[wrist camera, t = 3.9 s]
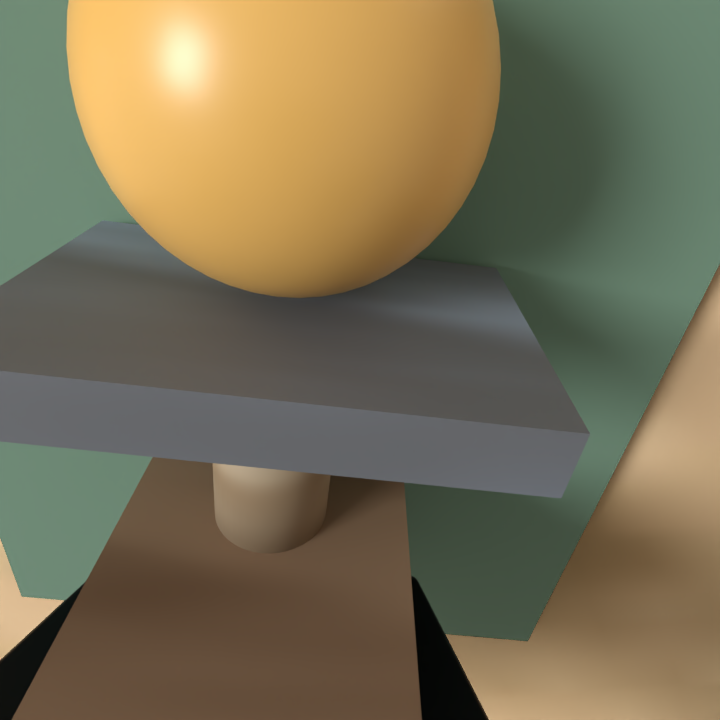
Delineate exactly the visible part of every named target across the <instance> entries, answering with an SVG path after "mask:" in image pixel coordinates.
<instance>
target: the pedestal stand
mask: <svg viewBox="0 0 720 720" xmlns="http://www.w3.org/2000/svg"><path fill="white" fill-rule="evenodd" d="M589 436H590V432H589V431H588V429H587V427H586V425H585V424H584V422H583V420H582V418H581V417H580V415H579V413H578V411H577V410H576V408H575V406H574V404H573V403H572V401H571V399H570V397H569V395H568V394H567V392H566V390H565V388H564V387H563V385H562V383H561V381H560V380H559V378H558V376H557V374H556V373H555V371H554V369H553V367H552V365H551V364H550V362H549V360H548V358H547V357H546V355H545V353H544V351H543V350H542V348H541V346H540V344H539V343H538V341H537V339H536V337H535V335H534V334H533V332H532V330H531V328H530V327H529V325H528V323H527V321H526V320H525V318H524V316H523V314H522V313H521V311H520V309H519V307H518V305H517V304H516V302H515V300H514V298H513V297H512V295H511V293H510V291H509V290H508V288H507V286H506V284H505V283H504V281H503V279H502V277H501V275H500V274H499V272H498V270H497V268H492V267H484V266H475V265H467V264H459V263H451V262H442V261H434V260H426V259H417V258H413V259H412V260H410V261H409V262H408V263H406V264H405V265H403V266H402V267H400V268H398V269H397V270H395V271H394V272H392V273H390V274H389V275H387V276H385V277H383V278H381V279H379V280H377V281H374V282H372V283H370V284H368V285H366V286H363V287H360V288H356V289H353V290H350V291H347V292H344V293H339V294H333V295H328V296H323V297H308V298H289V297H275V296H269V295H264V294H258V293H253V292H249V291H246V290H243V289H239V288H236V287H233V286H229V285H227V284H224V283H222V282H220V281H217V280H215V279H213V278H210V277H208V276H206V275H204V274H203V273H201V272H199V271H197V270H195V269H194V268H192V267H190V266H188V265H187V264H185V263H184V262H182V261H181V260H180V259H178V258H177V257H175V256H174V255H173V254H171V253H170V252H168V251H167V250H166V249H164V248H163V247H162V246H161V245H160V244H159V243H158V242H157V241H155V240H154V239H153V238H152V237H151V236H150V235H149V234H148V233H147V232H146V231H145V230H144V229H143V228H142V227H141V226H140V225H136V224H128V223H120V222H112V221H101V222H99V223H98V224H96V225H95V226H93V227H92V228H90V229H88V230H87V231H85V232H84V233H82V234H81V235H79V236H78V237H76V238H74V239H73V240H71V241H70V242H68V243H67V244H65V245H63V246H62V247H60V248H59V249H57V250H56V251H54V252H52V253H51V254H49V255H48V256H46V257H45V258H43V259H41V260H40V261H38V262H37V263H35V264H34V265H32V266H31V267H29V268H27V269H26V270H24V271H23V272H21V273H20V274H18V275H16V276H15V277H13V278H12V279H10V280H9V281H7V282H5V283H4V284H2V285H1V286H0V442H9V443H19V444H29V445H39V446H49V447H58V448H68V449H78V450H88V451H98V452H108V453H118V454H127V455H137V456H147V457H152V459H151V461H150V463H149V465H148V467H147V468H146V470H145V472H144V474H143V476H142V478H141V480H140V482H139V483H138V485H137V487H136V489H135V491H134V493H133V495H132V496H131V498H130V500H129V502H128V504H127V506H126V508H125V509H124V511H123V513H122V515H121V517H120V519H119V521H118V523H117V524H116V526H115V528H114V530H113V532H112V534H111V536H110V537H109V539H108V541H107V543H106V545H105V547H104V549H103V550H102V552H101V554H100V556H99V558H98V560H97V562H96V564H95V565H94V567H93V569H92V571H91V573H90V575H89V577H88V578H87V580H86V582H85V584H84V586H83V588H82V590H81V591H80V593H79V595H78V597H77V599H76V601H75V603H74V605H73V606H72V608H71V610H70V612H69V614H68V616H67V618H66V619H65V621H64V623H63V625H62V627H61V629H60V631H59V632H58V634H57V636H56V638H55V640H54V642H53V644H52V645H51V647H50V649H49V651H48V653H47V655H46V657H45V659H44V660H43V662H42V664H41V666H40V668H39V670H38V672H37V673H36V675H35V677H34V679H33V681H32V683H31V685H30V686H29V688H28V690H27V692H26V694H25V696H24V698H23V700H22V701H21V703H20V705H19V707H18V709H17V711H16V713H15V714H14V716H13V718H12V720H422V716H421V703H420V689H419V676H418V663H417V649H416V636H415V622H414V609H413V595H412V582H411V568H410V555H409V541H408V528H407V515H406V501H405V488H404V483H414V484H424V485H434V486H443V487H453V488H463V489H473V490H483V491H493V492H503V493H513V494H522V495H532V496H542V497H552V498H562V496H563V494H564V491H565V489H566V487H567V485H568V483H569V480H570V478H571V476H572V474H573V472H574V469H575V467H576V465H577V463H578V460H579V458H580V456H581V454H582V452H583V449H584V447H585V445H586V443H587V441H588V438H589Z"/></svg>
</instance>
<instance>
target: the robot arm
mask: <svg viewBox="0 0 720 720" xmlns="http://www.w3.org/2000/svg"><path fill="white" fill-rule="evenodd" d="M85 582H86V581H85ZM85 582H84V583H83V584H82V585H81V586H80V587H79V588H78V589H77V590H76V591H75V592H74V593H72V594H71V595H70V596H69V597H68V598H67V599H66V600H65V601H64V602H63V603H62V604H61V605H60V606H58V607H57V608H56V609H55V610H54V611H53V612H52V613H51V614H50V615H49V616H48V617H47V618H45V619H44V620H43V621H42V622H41V623H40V624H39V625H38V626H37V627H36V628H35V629H34V630H32V631H31V632H30V633H29V634H28V635H27V636H26V637H25V638H24V639H23V640H22V641H21V642H19V643H18V644H17V645H16V646H15V647H14V648H13V649H12V650H11V651H10V652H9V653H8V654H6V655H5V656H4V657H3V658H2V659H1V660H0V720H12V718H13V716H14V714H15V713H16V711H17V709H18V707H19V705H20V703H21V701H22V700H23V698H24V696H25V694H26V692H27V690H28V688H29V686H30V685H31V683H32V681H33V679H34V677H35V675H36V673H37V672H38V670H39V668H40V666H41V664H42V662H43V660H44V659H45V657H46V655H47V653H48V651H49V649H50V647H51V645H52V644H53V642H54V640H55V638H56V636H57V634H58V632H59V631H60V629H61V627H62V625H63V623H64V621H65V619H66V618H67V616H68V614H69V612H70V610H71V608H72V606H73V605H74V603H75V601H76V599H77V597H78V595H79V593H80V591H81V590H82V588H83V586H84V584H85ZM411 582H412V595H413V609H414V622H415V636H416V649H417V663H418V676H419V689H420V703H421V716H422V720H489V719H488V717H487V715H486V713H485V711H484V709H483V707H482V705H481V703H480V702H479V700H478V698H477V696H476V694H475V692H474V690H473V688H472V686H471V684H470V682H469V680H468V678H467V676H466V674H465V672H464V670H463V668H462V666H461V664H460V662H459V660H458V658H457V656H456V654H455V652H454V650H453V648H452V646H451V644H450V643H449V641H448V639H447V637H446V635H445V633H444V631H443V629H442V627H441V625H440V623H439V621H438V619H437V617H436V615H435V613H434V611H433V609H432V607H431V605H430V603H429V601H428V599H427V597H426V595H425V593H424V591H423V589H422V587H421V586H420V584H419V582H418V580H417V579H416V578H415V577H414V576H411Z"/></svg>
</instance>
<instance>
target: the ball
mask: <svg viewBox="0 0 720 720" xmlns="http://www.w3.org/2000/svg"><path fill="white" fill-rule="evenodd" d="M66 48H67V59H68V69H69V79H70V84H71V89H72V94H73V98H74V103H75V108H76V112H77V115H78V118H79V121H80V124H81V127H82V130H83V133H84V136H85V139H86V141H87V143H88V146H89V148H90V150H91V152H92V154H93V157H94V159H95V161H96V163H97V165H98V167H99V169H100V171H101V172H102V174H103V176H104V177H105V179H106V181H107V183H108V184H109V186H110V188H111V189H112V191H113V192H114V194H115V195H116V196H117V198H118V199H119V200H120V202H121V203H122V205H123V206H124V207H125V209H126V210H127V211H128V213H129V214H130V215H131V216H132V217H133V218H134V219H135V220H136V222H137V223H138V224H139V225H140V226H141V227H142V228H143V229H144V230H145V231H146V232H147V233H148V234H149V235H150V236H151V237H152V238H153V239H154V240H155V241H157V242H158V243H159V244H160V245H161V246H162V247H163V248H164V249H166V250H167V251H168V252H170V253H171V254H173V255H174V256H175V257H177V258H178V259H180V260H181V261H182V262H184V263H185V264H187V265H188V266H190V267H192V268H194V269H195V270H197V271H199V272H201V273H203V274H204V275H206V276H208V277H210V278H213V279H215V280H217V281H220V282H222V283H224V284H227V285H229V286H233V287H236V288H239V289H243V290H246V291H249V292H253V293H258V294H264V295H269V296H275V297H289V298H308V297H323V296H328V295H333V294H339V293H344V292H347V291H350V290H353V289H356V288H360V287H363V286H366V285H368V284H370V283H372V282H374V281H377V280H379V279H381V278H383V277H385V276H387V275H389V274H390V273H392V272H394V271H395V270H397V269H398V268H400V267H402V266H403V265H405V264H406V263H408V262H409V261H410V260H412V259H413V258H414V257H415V256H416V255H418V254H419V253H420V252H421V251H423V250H424V249H425V248H426V247H428V246H429V245H430V244H431V243H432V242H433V241H434V239H435V238H436V237H437V236H438V235H439V234H440V233H441V232H442V231H443V230H444V229H445V228H446V227H447V225H448V224H449V223H450V221H451V220H452V219H453V217H454V216H455V215H456V213H457V212H458V211H459V209H460V208H461V207H462V205H463V203H464V201H465V200H466V198H467V196H468V194H469V193H470V191H471V189H472V188H473V186H474V184H475V182H476V179H477V177H478V175H479V172H480V170H481V168H482V165H483V163H484V161H485V158H486V155H487V152H488V149H489V145H490V142H491V138H492V135H493V132H494V127H495V121H496V116H497V110H498V104H499V95H500V77H501V60H500V43H499V32H498V27H497V21H496V16H495V10H494V5H493V0H69V2H68V9H67V43H66Z"/></svg>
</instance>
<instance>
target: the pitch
mask: <svg viewBox="0 0 720 720" xmlns="http://www.w3.org/2000/svg"><path fill="white" fill-rule="evenodd" d="M68 2H69V0H0V286H1V285H2V284H4V283H5V282H7V281H9V280H10V279H12V278H13V277H15V276H16V275H18V274H20V273H21V272H23V271H24V270H26V269H27V268H29V267H31V266H32V265H34V264H35V263H37V262H38V261H40V260H41V259H43V258H45V257H46V256H48V255H49V254H51V253H52V252H54V251H56V250H57V249H59V248H60V247H62V246H63V245H65V244H67V243H68V242H70V241H71V240H73V239H74V238H76V237H78V236H79V235H81V234H82V233H84V232H85V231H87V230H88V229H90V228H92V227H93V226H95V225H96V224H98V223H99V222H101V221H112V222H120V223H128V224H136V225H139V224H138V223H137V222H136V220H135V219H134V218H133V217H132V216H131V215H130V214H129V213H128V211H127V210H126V209H125V207H124V206H123V205H122V203H121V202H120V200H119V199H118V198H117V196H116V195H115V194H114V192H113V191H112V189H111V188H110V186H109V184H108V183H107V181H106V179H105V177H104V176H103V174H102V172H101V171H100V169H99V167H98V165H97V163H96V161H95V159H94V157H93V154H92V152H91V150H90V148H89V146H88V143H87V141H86V139H85V136H84V133H83V130H82V127H81V124H80V121H79V118H78V115H77V112H76V108H75V103H74V98H73V94H72V89H71V84H70V79H69V69H68V59H67V48H66V43H67V9H68ZM493 5H494V10H495V16H496V21H497V27H498V32H499V43H500V60H501V77H500V95H499V104H498V110H497V116H496V121H495V127H494V132H493V135H492V138H491V142H490V145H489V149H488V152H487V155H486V158H485V161H484V163H483V165H482V168H481V170H480V172H479V175H478V177H477V179H476V182H475V184H474V186H473V188H472V189H471V191H470V193H469V194H468V196H467V198H466V200H465V201H464V203H463V205H462V207H461V208H460V209H459V211H458V212H457V213H456V215H455V216H454V217H453V219H452V220H451V221H450V223H449V224H448V225H447V227H446V228H445V229H444V230H443V231H442V232H441V233H440V234H439V235H438V236H437V237H436V238H435V239H434V241H433V242H432V243H431V244H430V245H429V246H428V247H426V248H425V249H424V250H423V251H421V252H420V253H419V254H418V255H416V256H415V257H414V258H417V259H426V260H434V261H442V262H451V263H459V264H467V265H475V266H484V267H492V268H497V270H498V272H499V274H500V275H501V277H502V279H503V281H504V283H505V284H506V286H507V288H508V290H509V291H510V293H511V295H512V297H513V298H514V300H515V302H516V304H517V305H518V307H519V309H520V311H521V313H522V314H523V316H524V318H525V320H526V321H527V323H528V325H529V327H530V328H531V330H532V332H533V334H534V335H535V337H536V339H537V341H538V343H539V344H540V346H541V348H542V350H543V351H544V353H545V355H546V357H547V358H548V360H549V362H550V364H551V365H552V367H553V369H554V371H555V373H556V374H557V376H558V378H559V380H560V381H561V383H562V385H563V387H564V388H565V390H566V392H567V394H568V395H569V397H570V399H571V401H572V403H573V404H574V406H575V408H576V410H577V411H578V413H579V415H580V417H581V418H582V420H583V422H584V424H585V425H586V427H587V429H588V431H589V432H590V436H589V438H588V441H587V443H586V445H585V447H584V449H583V452H582V454H581V456H580V458H579V460H578V463H577V465H576V467H575V469H574V472H573V474H572V476H571V478H570V480H569V483H568V485H567V487H566V489H565V491H564V494H563V496H562V498H552V497H542V496H532V495H522V494H513V493H503V492H493V491H483V490H473V489H463V488H453V487H443V486H434V485H424V484H414V483H404V488H405V501H406V515H407V528H408V541H409V555H410V568H411V576H414V577H415V578H416V579H417V580H418V582H419V584H420V586H421V587H422V589H423V591H424V593H425V595H426V597H427V599H428V601H429V603H430V605H431V607H432V609H433V611H434V613H435V615H436V617H437V619H438V621H439V623H440V625H441V627H442V629H443V631H444V633H445V634H452V635H463V636H475V637H486V638H497V639H509V640H520V641H528V640H529V638H530V636H531V634H532V632H533V630H534V628H535V626H536V624H537V622H538V620H539V618H540V616H541V614H542V612H543V610H544V608H545V606H546V604H547V602H548V600H549V598H550V596H551V594H552V592H553V590H554V588H555V587H556V585H557V583H558V581H559V579H560V577H561V575H562V573H563V571H564V569H565V567H566V565H567V563H568V561H569V559H570V557H571V555H572V553H573V551H574V549H575V547H576V545H577V543H578V541H579V539H580V537H581V535H582V533H583V532H584V530H585V528H586V526H587V524H588V522H589V520H590V518H591V516H592V514H593V512H594V510H595V508H596V506H597V504H598V502H599V500H600V498H601V496H602V494H603V492H604V490H605V488H606V486H607V484H608V482H609V480H610V478H611V477H612V475H613V473H614V471H615V469H616V467H617V465H618V463H619V461H620V459H621V457H622V455H623V453H624V451H625V449H626V447H627V445H628V443H629V441H630V439H631V437H632V435H633V433H634V431H635V429H636V427H637V425H638V423H639V422H640V420H641V418H642V416H643V414H644V412H645V410H646V408H647V406H648V404H649V402H650V400H651V398H652V396H653V394H654V392H655V390H656V388H657V386H658V384H659V382H660V380H661V378H662V376H663V374H664V372H665V370H666V368H667V367H668V365H669V363H670V361H671V359H672V357H673V355H674V353H675V351H676V349H677V347H678V345H679V343H680V341H681V339H682V337H683V335H684V333H685V331H686V329H687V327H688V325H689V323H690V321H691V319H692V317H693V315H694V313H695V312H696V310H697V308H698V306H699V304H700V302H701V300H702V298H703V296H704V294H705V292H706V290H707V288H708V286H709V284H710V282H711V280H712V278H713V276H714V274H715V272H716V270H717V268H718V266H719V264H720V0H493ZM151 459H152V457H147V456H137V455H127V454H118V453H108V452H98V451H88V450H78V449H68V448H58V447H49V446H39V445H29V444H19V443H9V442H0V538H1V541H2V544H3V547H4V549H5V552H6V555H7V557H8V560H9V563H10V566H11V568H12V571H13V574H14V576H15V579H16V582H17V585H18V587H19V590H20V593H21V596H22V597H34V598H45V599H56V600H66V599H67V598H68V597H69V596H70V595H71V594H72V593H74V592H75V591H76V590H77V589H78V588H79V587H80V586H81V585H82V584H83V583H84V582H85V581H86V580H87V578H88V577H89V575H90V573H91V571H92V569H93V567H94V565H95V564H96V562H97V560H98V558H99V556H100V554H101V552H102V550H103V549H104V547H105V545H106V543H107V541H108V539H109V537H110V536H111V534H112V532H113V530H114V528H115V526H116V524H117V523H118V521H119V519H120V517H121V515H122V513H123V511H124V509H125V508H126V506H127V504H128V502H129V500H130V498H131V496H132V495H133V493H134V491H135V489H136V487H137V485H138V483H139V482H140V480H141V478H142V476H143V474H144V472H145V470H146V468H147V467H148V465H149V463H150V461H151Z"/></svg>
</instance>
